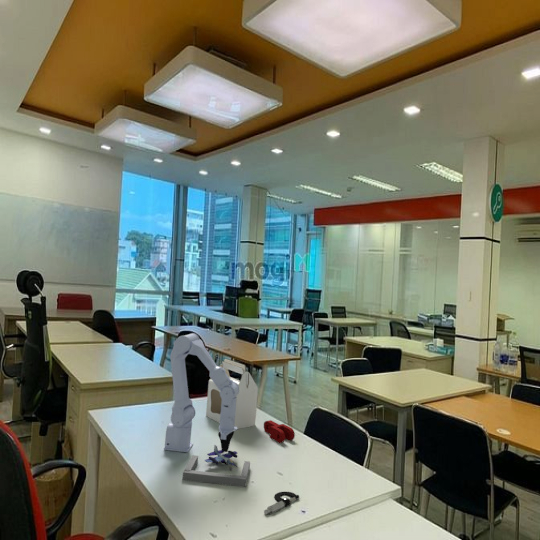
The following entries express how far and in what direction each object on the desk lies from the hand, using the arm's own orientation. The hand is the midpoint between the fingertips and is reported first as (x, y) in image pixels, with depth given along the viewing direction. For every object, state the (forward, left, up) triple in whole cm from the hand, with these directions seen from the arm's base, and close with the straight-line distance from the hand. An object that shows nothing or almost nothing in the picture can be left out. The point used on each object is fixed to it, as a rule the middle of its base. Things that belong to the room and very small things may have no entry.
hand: (224, 451), depth 152 cm
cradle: (0, -14, -2) cm, 14 cm away
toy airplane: (+1, -7, -2) cm, 8 cm away
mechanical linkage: (+19, +25, -2) cm, 32 cm away
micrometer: (+21, -27, -3) cm, 35 cm away
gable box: (-4, +39, -2) cm, 39 cm away
